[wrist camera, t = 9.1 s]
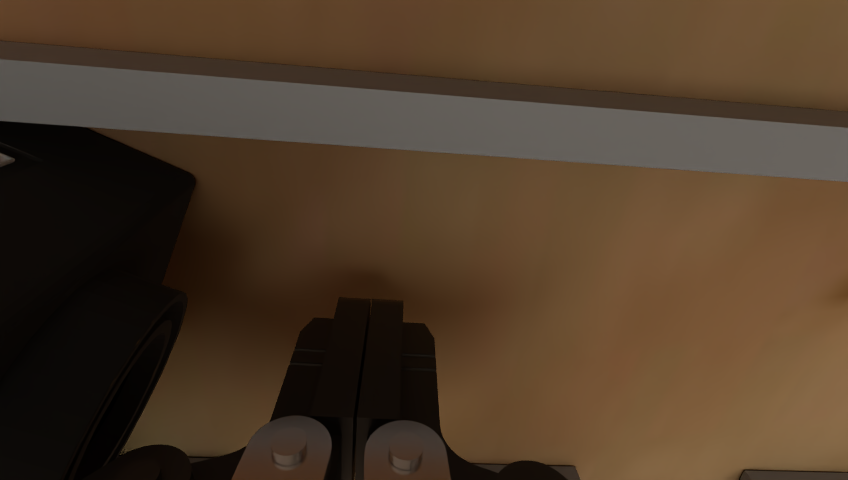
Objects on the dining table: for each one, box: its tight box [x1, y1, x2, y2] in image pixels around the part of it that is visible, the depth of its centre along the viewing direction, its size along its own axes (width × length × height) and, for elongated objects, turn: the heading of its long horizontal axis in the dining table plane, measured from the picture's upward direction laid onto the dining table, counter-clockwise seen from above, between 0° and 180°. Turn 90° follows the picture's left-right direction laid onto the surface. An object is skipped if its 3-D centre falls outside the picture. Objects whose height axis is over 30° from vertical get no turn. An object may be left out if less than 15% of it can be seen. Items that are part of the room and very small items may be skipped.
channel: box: [0, 41, 848, 480], centre depth 13 cm, size 20×33×4 cm, turn 85°
